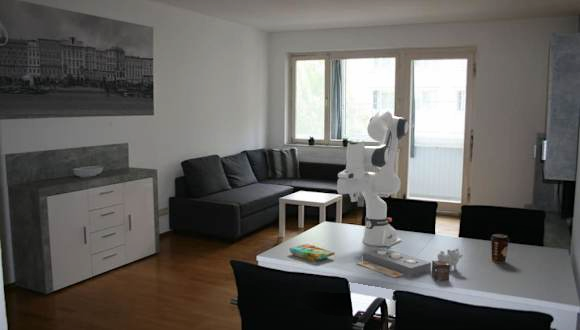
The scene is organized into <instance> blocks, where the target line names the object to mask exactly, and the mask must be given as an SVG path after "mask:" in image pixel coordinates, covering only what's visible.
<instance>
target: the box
mask: <svg viewBox="0 0 580 330" xmlns="http://www.w3.org/2000/svg"><path fill="white" fill-rule="evenodd" d="M450 273H451V271H450V265H449V264H448V263H447V262H446V261H438V260H431V277H432V278H433V280H435V281H436V282H442V281H443V282H444V281H445V282H446V281H447V282H448V281H450Z"/></svg>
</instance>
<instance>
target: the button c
mask: <svg viewBox="0 0 580 330" xmlns="http://www.w3.org/2000/svg"><path fill="white" fill-rule="evenodd" d="M406 263H409V264H415V263H416V261H414V260H406Z"/></svg>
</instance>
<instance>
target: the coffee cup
mask: <svg viewBox="0 0 580 330" xmlns="http://www.w3.org/2000/svg"><path fill="white" fill-rule="evenodd" d="M510 241H511V240H510V238H509V237H508V235H506V234H503V233H502V234H501V233H494V234H492V235H491V237H490V246H491V248H490V249H491V262H493V263H498V264H504V263H506V261H507V260H506V259H507V255H508V249H509V248H508V247H509V242H510Z"/></svg>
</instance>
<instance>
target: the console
mask: <svg viewBox="0 0 580 330" xmlns="http://www.w3.org/2000/svg"><path fill="white" fill-rule="evenodd" d="M377 251H385V252H386V254H384V255H381V254H378V253H377ZM391 253H399V254H401V258H400V259H393V258H391ZM406 260H414V261H416V263H415V264H409V263H406ZM362 261H368V262H371V263H373V264H376V265H379V266H382V267H385V268H388V269H391V270H394V271H396V272H399V273H402V274H404V276H407V277H409V278H410V277H411V278H412V277H415V276H418V275H422V274H425V273H429V272H432V261H431V262H430V261H427V260H425V259H421V258H418V257H414V256H410V255H408V254H404V253H401V252H398V251H394V250H391V249H389V248H386V247H379V248H376V249H372V250H365V251H362Z"/></svg>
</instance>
